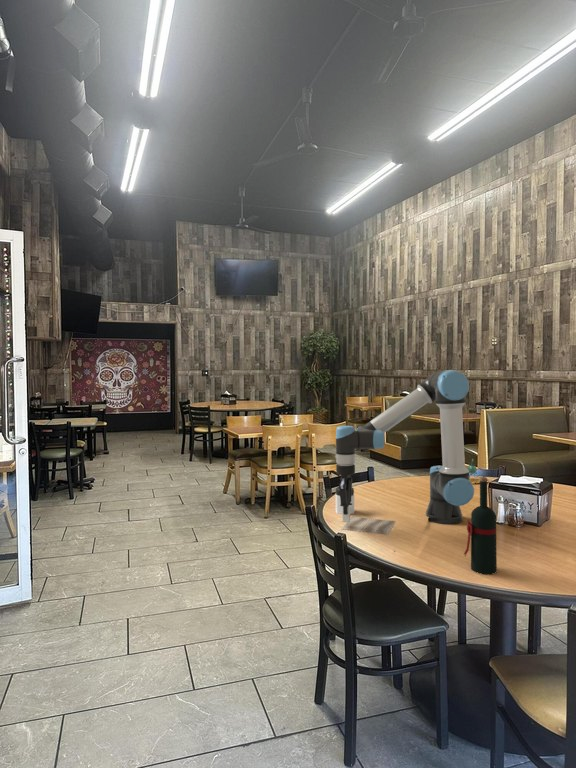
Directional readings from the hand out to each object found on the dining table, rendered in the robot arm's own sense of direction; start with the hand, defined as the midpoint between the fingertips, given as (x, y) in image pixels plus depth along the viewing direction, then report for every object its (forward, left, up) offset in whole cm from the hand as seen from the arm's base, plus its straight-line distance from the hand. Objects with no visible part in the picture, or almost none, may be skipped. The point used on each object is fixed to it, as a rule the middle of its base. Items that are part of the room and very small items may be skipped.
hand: (346, 521), depth 198 cm
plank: (-3, -5, -3) cm, 6 cm away
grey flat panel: (-7, -5, -4) cm, 9 cm away
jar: (+6, -20, -4) cm, 21 cm away
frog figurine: (-47, -105, -4) cm, 115 cm away
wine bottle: (-51, +23, -4) cm, 56 cm away
